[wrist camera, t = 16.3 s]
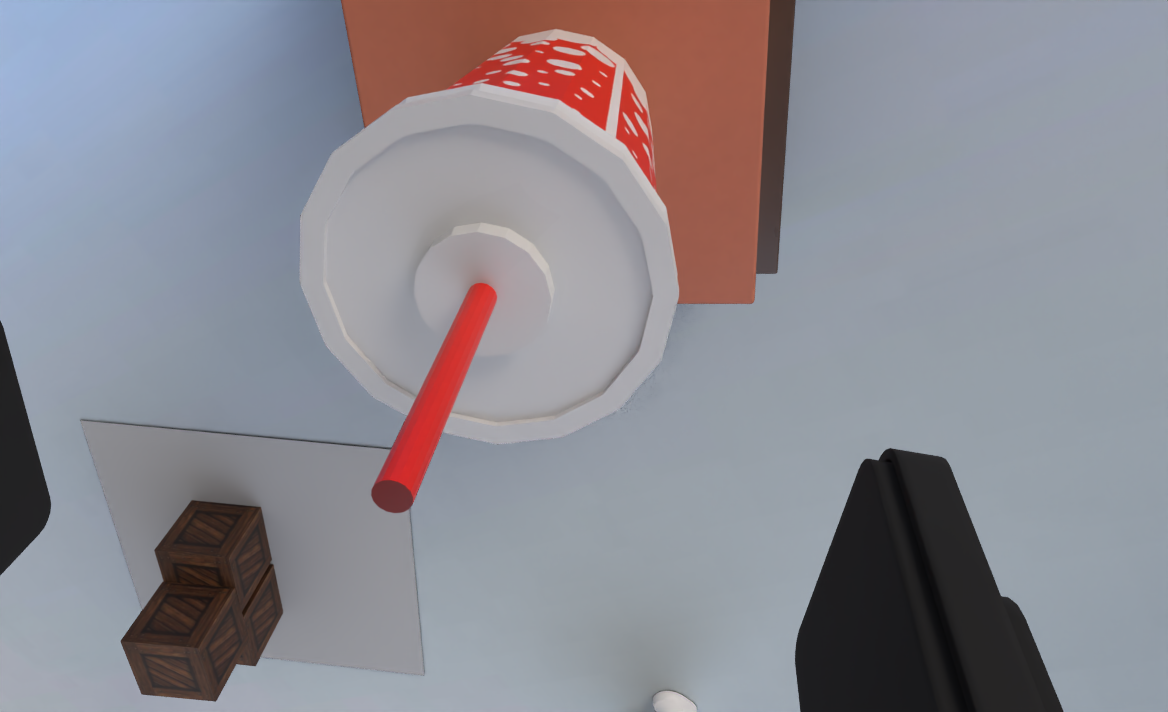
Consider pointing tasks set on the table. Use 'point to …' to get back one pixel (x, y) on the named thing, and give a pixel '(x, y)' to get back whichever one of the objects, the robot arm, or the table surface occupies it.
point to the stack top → (664, 69)
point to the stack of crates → (255, 556)
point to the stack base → (774, 133)
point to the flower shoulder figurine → (672, 702)
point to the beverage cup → (496, 253)
